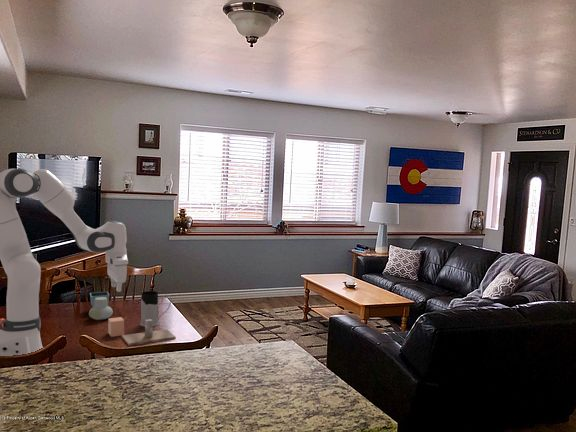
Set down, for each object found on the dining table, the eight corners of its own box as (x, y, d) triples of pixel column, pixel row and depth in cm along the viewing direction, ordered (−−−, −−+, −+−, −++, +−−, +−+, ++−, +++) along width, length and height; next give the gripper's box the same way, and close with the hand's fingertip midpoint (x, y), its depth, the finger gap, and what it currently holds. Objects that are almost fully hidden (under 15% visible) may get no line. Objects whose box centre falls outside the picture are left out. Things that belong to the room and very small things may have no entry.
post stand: (128, 345, 210) (128, 326, 209) (121, 337, 220) (121, 319, 219) (175, 338, 220) (175, 320, 219) (166, 331, 230) (167, 314, 230)
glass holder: (139, 322, 243) (139, 291, 242) (169, 320, 248) (170, 289, 247) (140, 327, 235) (140, 295, 234) (171, 325, 240) (172, 293, 239)
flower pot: (89, 309, 263) (89, 292, 262) (107, 308, 267) (107, 291, 266) (90, 314, 255) (90, 296, 254) (109, 312, 259) (109, 295, 258)
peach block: (111, 336, 221) (111, 321, 220) (108, 333, 225) (108, 318, 225) (124, 334, 223) (124, 320, 223) (121, 331, 228) (121, 317, 228)
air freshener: (115, 317, 250) (115, 297, 250) (105, 321, 242) (105, 301, 242) (96, 315, 253) (96, 295, 252) (85, 319, 245) (85, 299, 244)
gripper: (103, 254, 229) (103, 285, 230) (113, 262, 212) (114, 294, 213) (118, 254, 232) (118, 283, 233) (129, 261, 215) (129, 293, 216)
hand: (116, 289), depth 223 cm, fingers open, 8 cm apart
